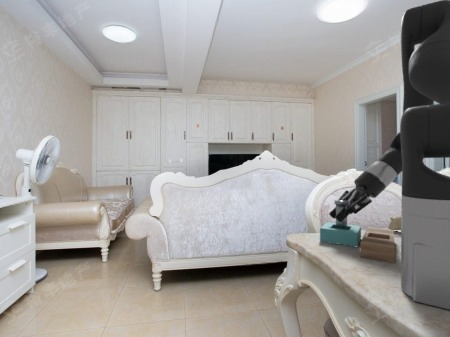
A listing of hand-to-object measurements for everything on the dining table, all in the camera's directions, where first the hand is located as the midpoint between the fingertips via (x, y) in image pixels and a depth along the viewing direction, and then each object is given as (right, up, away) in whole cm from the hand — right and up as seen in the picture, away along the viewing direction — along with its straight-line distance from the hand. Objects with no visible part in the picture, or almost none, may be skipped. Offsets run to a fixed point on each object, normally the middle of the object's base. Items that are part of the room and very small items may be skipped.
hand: (334, 217), depth 77 cm
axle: (+2, -7, 0) cm, 7 cm away
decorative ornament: (+26, -7, +11) cm, 29 cm away
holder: (+2, -7, 0) cm, 7 cm away
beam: (+9, -7, -8) cm, 14 cm away
